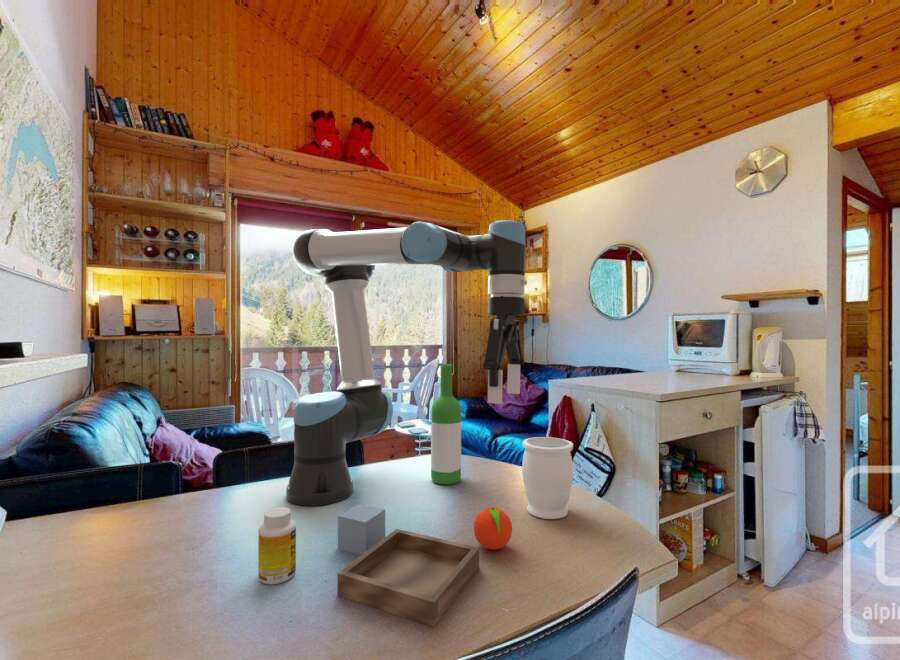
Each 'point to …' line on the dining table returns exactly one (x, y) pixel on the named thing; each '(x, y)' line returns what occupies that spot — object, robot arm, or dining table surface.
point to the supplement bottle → (277, 546)
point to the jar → (547, 476)
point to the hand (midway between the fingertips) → (504, 398)
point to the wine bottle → (446, 433)
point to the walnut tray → (410, 575)
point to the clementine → (492, 528)
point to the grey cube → (360, 528)
